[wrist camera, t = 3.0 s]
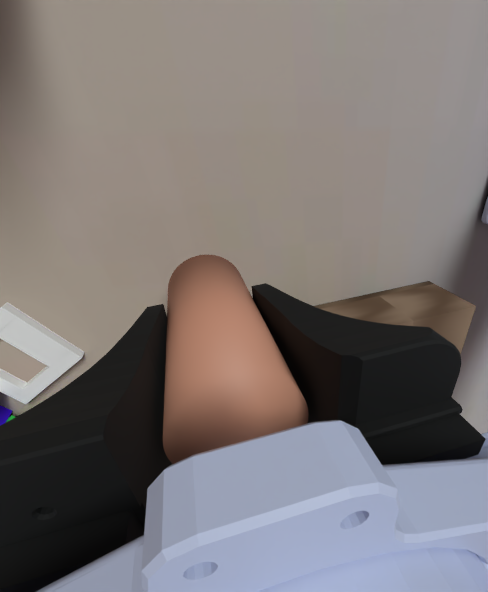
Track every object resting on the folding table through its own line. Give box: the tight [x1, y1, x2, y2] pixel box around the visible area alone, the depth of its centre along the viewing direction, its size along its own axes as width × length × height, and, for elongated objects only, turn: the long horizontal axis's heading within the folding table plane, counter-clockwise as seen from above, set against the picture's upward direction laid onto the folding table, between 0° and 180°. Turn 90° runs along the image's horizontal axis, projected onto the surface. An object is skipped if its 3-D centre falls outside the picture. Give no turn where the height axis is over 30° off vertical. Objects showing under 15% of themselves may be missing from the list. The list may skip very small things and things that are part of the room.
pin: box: [163, 255, 309, 464], centre depth 10 cm, size 4×4×8 cm
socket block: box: [314, 281, 476, 354], centre depth 22 cm, size 14×12×4 cm
